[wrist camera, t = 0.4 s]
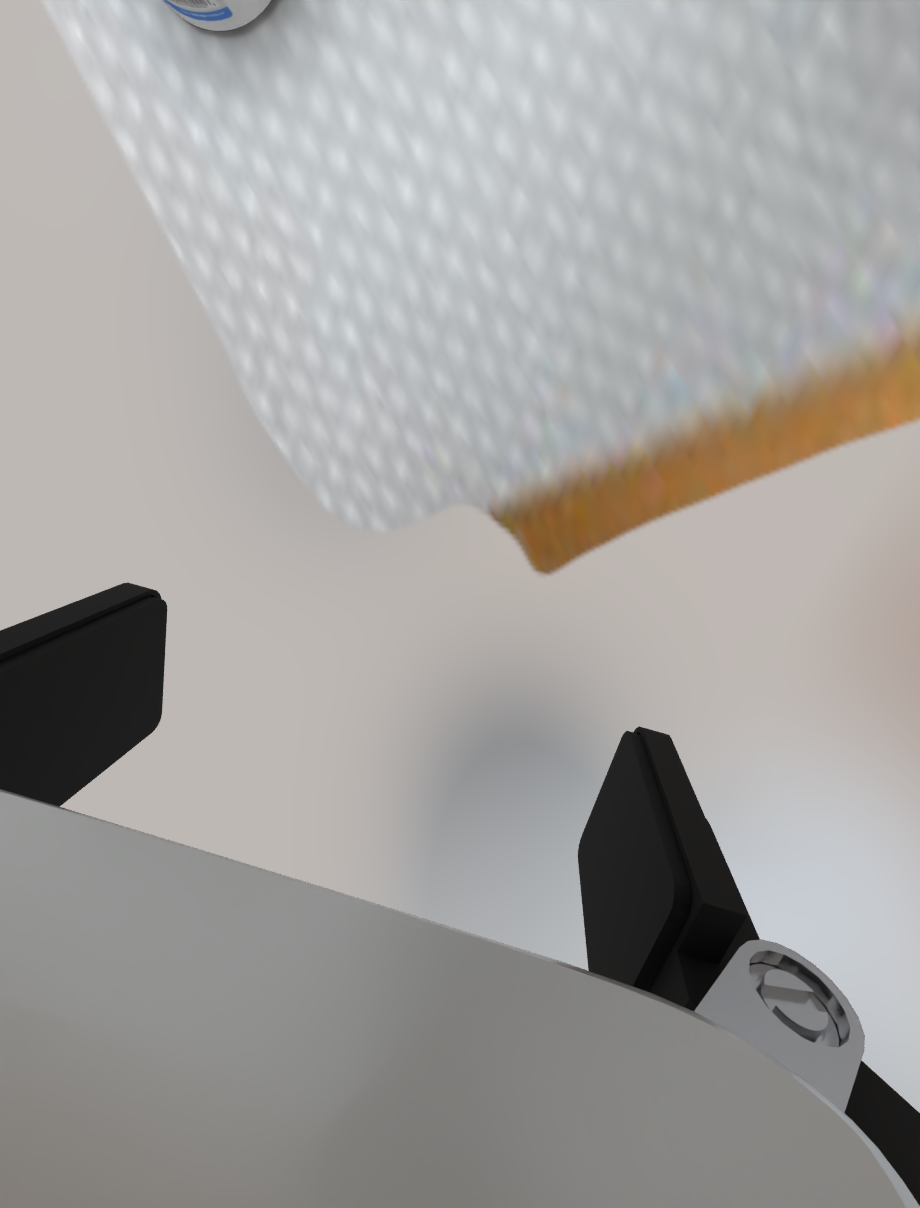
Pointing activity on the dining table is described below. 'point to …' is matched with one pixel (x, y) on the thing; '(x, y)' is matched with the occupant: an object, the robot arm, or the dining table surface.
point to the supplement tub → (218, 12)
